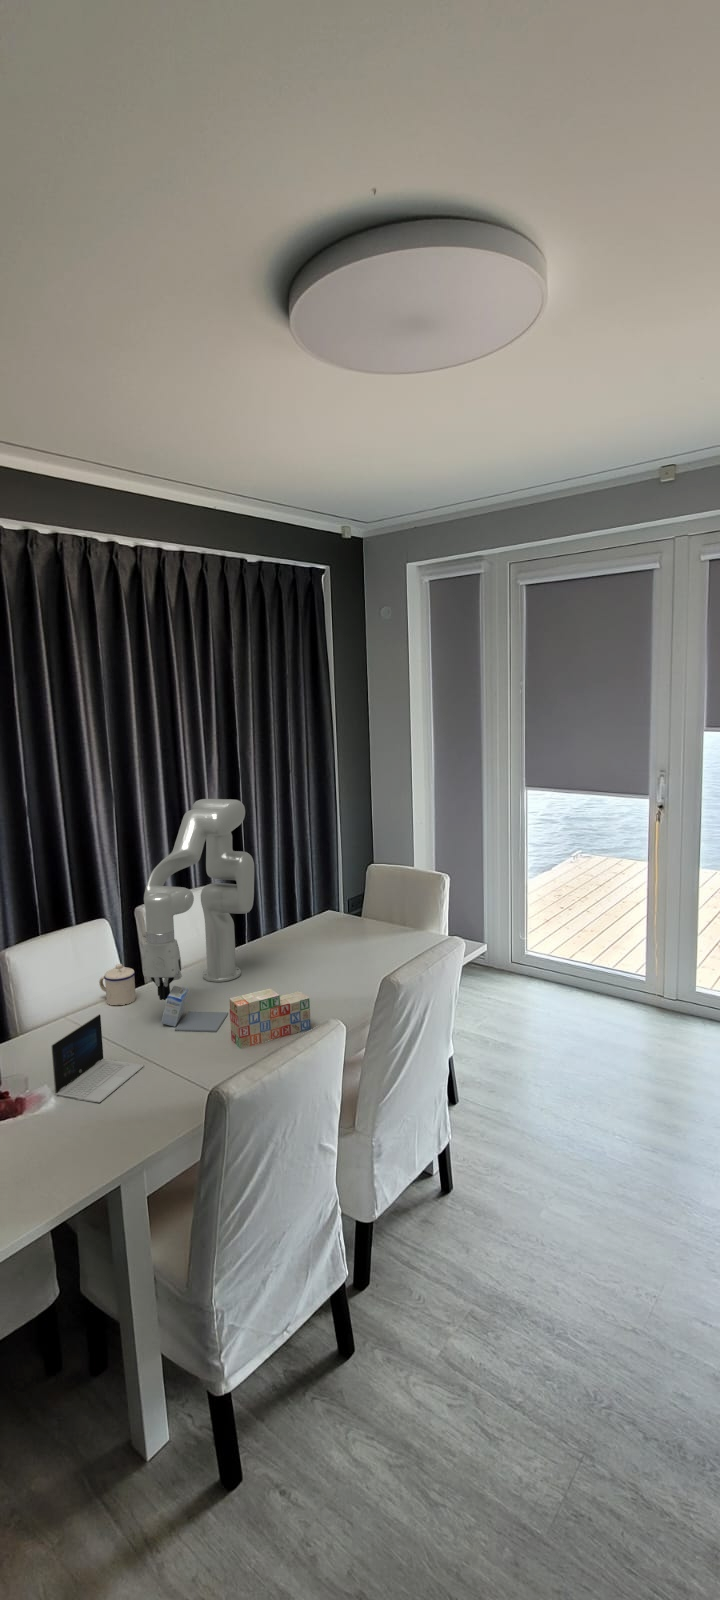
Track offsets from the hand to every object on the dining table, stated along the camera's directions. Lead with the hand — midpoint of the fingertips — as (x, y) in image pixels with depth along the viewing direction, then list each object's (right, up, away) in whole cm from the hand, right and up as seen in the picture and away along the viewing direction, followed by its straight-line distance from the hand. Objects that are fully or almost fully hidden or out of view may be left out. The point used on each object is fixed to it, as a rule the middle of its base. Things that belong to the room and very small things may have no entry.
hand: (164, 998), depth 214 cm
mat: (+11, -7, 0) cm, 13 cm away
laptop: (-7, -12, -32) cm, 35 cm away
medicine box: (+2, -7, +1) cm, 7 cm away
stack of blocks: (+32, -8, -9) cm, 34 cm away
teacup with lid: (-19, -5, +17) cm, 26 cm away
